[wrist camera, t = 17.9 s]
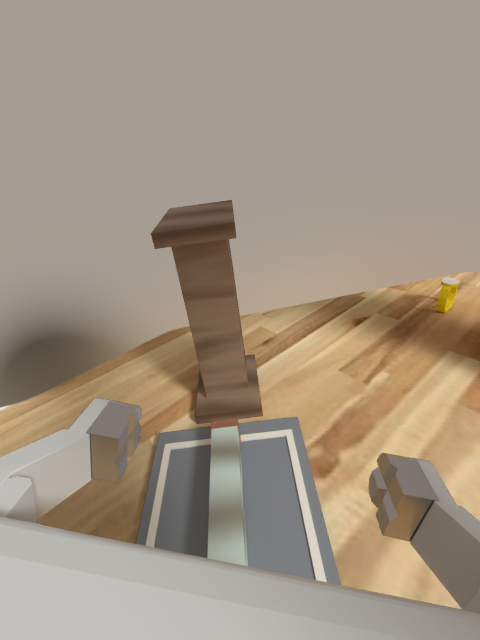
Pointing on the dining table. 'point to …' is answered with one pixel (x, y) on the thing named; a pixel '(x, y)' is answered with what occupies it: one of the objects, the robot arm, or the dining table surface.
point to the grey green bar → (226, 495)
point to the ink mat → (259, 499)
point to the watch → (447, 294)
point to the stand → (212, 308)
